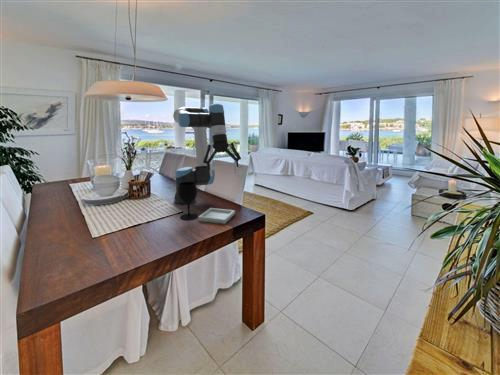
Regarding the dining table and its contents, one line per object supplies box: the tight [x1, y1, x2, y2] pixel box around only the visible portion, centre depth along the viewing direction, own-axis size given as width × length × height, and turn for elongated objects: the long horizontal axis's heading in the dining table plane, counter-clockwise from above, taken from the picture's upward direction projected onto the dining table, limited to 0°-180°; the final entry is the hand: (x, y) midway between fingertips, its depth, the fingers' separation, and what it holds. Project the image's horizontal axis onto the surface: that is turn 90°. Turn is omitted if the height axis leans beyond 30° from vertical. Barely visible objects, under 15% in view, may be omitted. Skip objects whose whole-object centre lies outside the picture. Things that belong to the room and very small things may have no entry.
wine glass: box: [178, 182, 199, 221], centre depth 142 cm, size 10×10×20 cm
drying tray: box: [197, 207, 236, 225], centre depth 143 cm, size 16×16×2 cm
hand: (224, 174), depth 132 cm, fingers open, 13 cm apart
